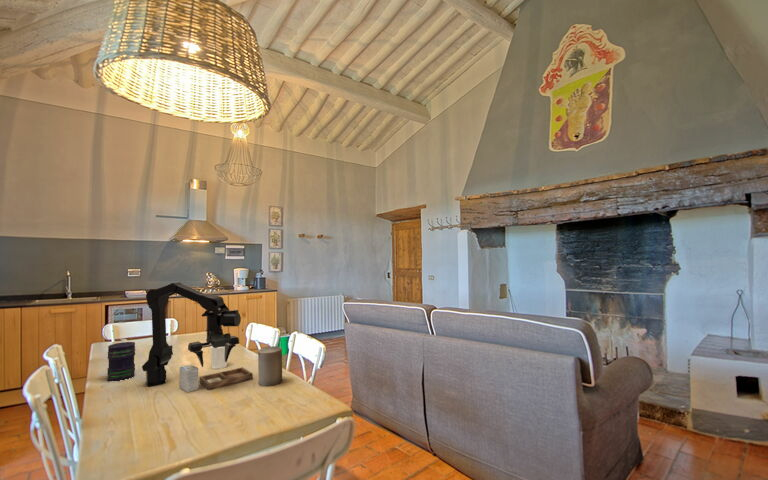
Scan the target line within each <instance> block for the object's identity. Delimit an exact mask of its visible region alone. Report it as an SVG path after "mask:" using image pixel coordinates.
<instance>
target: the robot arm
mask: <svg viewBox="0 0 768 480" xmlns="http://www.w3.org/2000/svg"><path fill="white" fill-rule="evenodd" d="M175 294H176V295H178V296H180V297H183V298H186V299H188V300H191V301H193V302H195V303H197V304H199V306H200V307H201V308H203V309H204V312H203V313H202V314H201V315H200V316H201V317H206V330H205V331H206V339H205V341H206V342H201V341H193V342H189V343H188V345H187V347H188V348H187V350H188V351H189V352H190V353H193V354H195V355H196V357H197V358H198V361H199V363H200V366H201V368H203V367H204V356H203V354H204V350H203V348H208V347H211V346H213V348H218V347H224V346H225V362H227V363H228V359H229V356H230V354H231V352H232V350H233V348H234V347H236V346H237V345H239V344H240V338H239V337H238V336H236V335H231V333H230V332H228V333H224V332H223V327H226V328H227V327H229V328H230V327H232V328H233V327H239V326H240V324H241V322H242V321H241V320H242V317H241V314H240V313H239V310H238V309H233V310H230V309H229V307H228V305H226V303H225V300H224V298H223V297H222V296H221V295H215V294H208V293H204V292H202V291H199V290H198V289H195V288H192V287H190V286H187V285H185V284H183V283H181V282H172V283H170V284H168V285H165V286H161V287H159V288H152V289H150V290H148V291H147V292H146V294H145V298H146V299H145V300H146V303H147V306H148V307H149V309H150V311H151V328H152V329H151V334H152V345H151V348H150V350H149V352H148V359H147V360H146V361H145V362H144V364H143V365H142V366H141V368H142V372H146V373H145V376H146V378H145V382H144V383H145V385H146V386H147V387H151V386H156V385H162V384H165V383H167V382H166V380H167V370H166V366H168V365H169V362H170V360H171V359H172V357H173V355H174V353H173V345H169V343H168V341H167V325H166V324H167V321H166V307H167V306H168V303H169V300H170V297H171V296H173V295H175Z"/></svg>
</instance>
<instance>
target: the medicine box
mask: <svg viewBox="0 0 768 480" xmlns="http://www.w3.org/2000/svg"><path fill="white" fill-rule="evenodd" d="M199 384H200V383H199V368H198V367H197V366H195V365H193V364H186V365H183V366H180V367H179V389H181V390H182V391H184V392H186V393H191V392H194V391H197V390H199V388H200V386H199Z"/></svg>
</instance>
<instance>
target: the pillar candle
mask: <svg viewBox="0 0 768 480" xmlns="http://www.w3.org/2000/svg"><path fill="white" fill-rule="evenodd" d="M257 355H258V357H257V358H258V363H257V364H258V365H257V366H258V370H257V371H258V372H257V374H258V376H257V377H258V385H260V386H262V387H270V386H271V387H272V386H276V385H278V384H281V383H282V382H283V348H282V347H281V346H272V345H271V346H266V347H261V348H259V349H258V350H257Z"/></svg>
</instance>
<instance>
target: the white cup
mask: <svg viewBox="0 0 768 480" xmlns="http://www.w3.org/2000/svg"><path fill="white" fill-rule="evenodd" d="M209 349H210V362H211V369H213V370H220V369H224V368H226V367H228V361H227V362H225V346H224V347H218V348H213V346H210V348H209Z"/></svg>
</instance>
